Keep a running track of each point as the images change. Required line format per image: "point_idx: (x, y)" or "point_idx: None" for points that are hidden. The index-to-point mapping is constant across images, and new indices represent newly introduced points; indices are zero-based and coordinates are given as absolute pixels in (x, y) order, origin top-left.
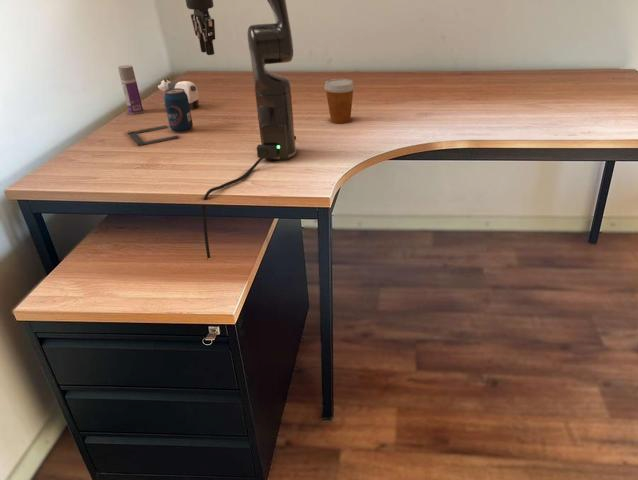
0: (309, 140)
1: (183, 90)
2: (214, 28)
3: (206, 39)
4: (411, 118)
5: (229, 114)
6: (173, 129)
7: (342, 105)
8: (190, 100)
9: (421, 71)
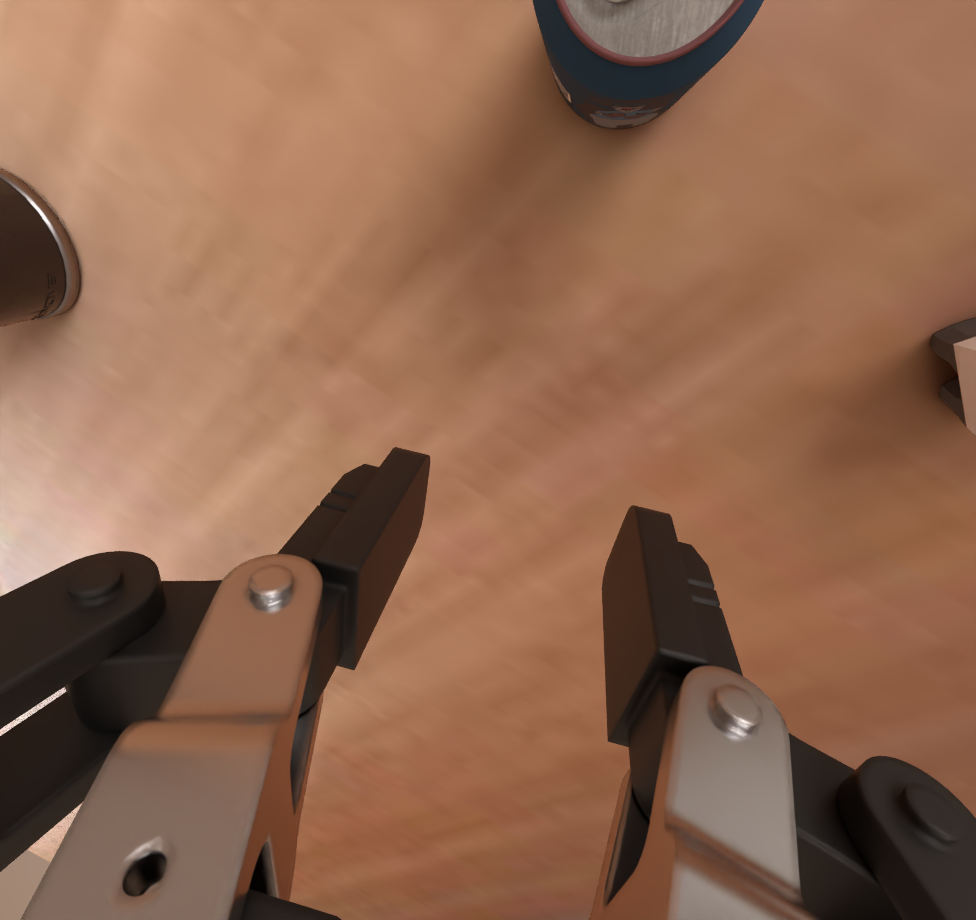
0: (126, 421)
1: (622, 55)
2: None
3: (128, 567)
4: None
5: (641, 423)
6: None
7: None
8: (964, 351)
9: None
